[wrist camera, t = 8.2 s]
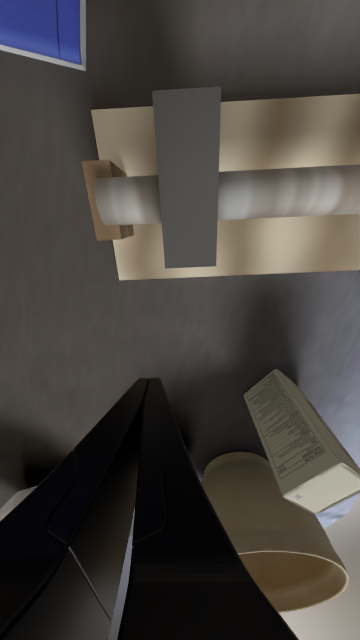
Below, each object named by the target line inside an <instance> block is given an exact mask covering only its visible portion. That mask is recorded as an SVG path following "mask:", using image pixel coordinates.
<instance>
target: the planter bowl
mask: <svg viewBox="0 0 360 640" xmlns="http://www.w3.org/2000/svg"><path fill="white" fill-rule="evenodd" d="M201 484H202V487H203V489H204V491H205V493H206V495H207V497H208V498H209V500H210V502H211V504H212V506H213V508H214V510H215V512H216V514H217V516H218V517H219V519H220V521H221V523H222V525H223V527H224V529H225V531H226V533H227V534H228V536H229V538H230V540H231V542H232V544H233V546H234V548H235V549H236V551H237V553H238V555H239V556H240V558H241V560H242V562H243V563H244V565H245V567H246V568H247V570H248V571H249V573H250V575H251V576H252V578H253V579H254V581H255V582H256V584H257V585H258V586H259V588H260V589H261V590H262V592H263V593H264V594H265V596H266V597H267V598H268V600H269V601H270V602H271V604H272V605H273V606H274V607H275V609H276V610H277V611H278V613H284V612H291V611H297V610H303V609H306V608H309V607H313V606H316V605H319V604H322V603H324V602H327V601H329V600H331V599H333V598H335V597H337V596H338V595H340V594H341V593H342V592H343V591H344V590H345V589H346V588H347V586H348V584H349V575H348V573H347V570H346V568H345V567H344V565H343V563H342V561H341V559H340V558H339V556H338V555H337V554H336V552H335V551H334V549H333V547H332V545H331V543H330V541H329V539H328V537H327V535H326V533H325V531H324V529H323V528H322V526H321V524H320V522H319V521H318V519H317V518H316V516H315V515H314V514H313V513H311V512H309V511H307V510H305V509H303V508H302V507H300V506H298V505H296V504H294V503H293V502H291V501H289V500H287V499H286V498H284V497H283V496H282V493H281V491H280V488H279V485H278V483H277V480H276V478H275V475H274V473H273V470H272V467H271V465H270V463H269V462H268V461H267V460H266V459H265V458H263V457H262V456H260V455H257V454H254V453H250V452H232V453H227V454H224V455H221V456H219V457H217V458H215V459H213V460H212V461H211V462H210V463H209V464H208V465H207V466H206V468H205V471H204V479H203V480H202V482H201Z"/></svg>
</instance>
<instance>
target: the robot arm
mask: <svg viewBox="0 0 360 640" xmlns="http://www.w3.org/2000/svg"><path fill="white" fill-rule="evenodd" d="M134 508H135V515H134V528H133V542H132V546H133V548H132V555H131V566H130V574H129V582H128V588H127V594H126V599H125V604H124V609H123V614H122V619H121V624H120V629H119V634H118V639H117V640H299V639H298V638H297V637H296V635H295V634H294V633H293V631H292V630H291V629H290V627H289V626H288V625H287V623H286V622H285V621H284V619H283V618H282V617H281V615H280V614H279V613H278V611H277V610H276V609H275V607H274V606H273V605H272V604H271V602H270V601H269V600H268V598H267V597H266V596H265V594H264V593H263V592H262V590H261V589H260V588H259V586H258V585H257V584H256V582H255V581H254V579H253V578H252V576H251V575H250V573H249V571H248V570H247V568H246V567H245V565H244V563H243V562H242V560H241V558H240V556H239V555H238V553H237V551H236V549H235V548H234V546H233V544H232V542H231V540H230V538H229V536H228V534H227V533H226V531H225V529H224V527H223V525H222V523H221V521H220V519H219V517H218V516H217V514H216V512H215V510H214V508H213V506H212V504H211V502H210V500H209V498H208V497H207V495H206V493H205V491H204V489H203V487H202V484H201V482H200V480H199V478H198V476H197V474H196V472H195V469H194V467H193V464H192V462H191V459H190V457H189V454H188V451H187V449H186V448H185V444H184V441H183V438H182V436H181V433H180V430H179V428H178V425H177V422H176V420H175V417H174V414H173V411H172V409H171V406H170V403H169V401H168V398H167V395H166V393H165V390H164V387H163V385H162V382H161V379H160V378H150V379H148V378H140V379H138V380H137V381H136V382H135V383H134V384H133V385H132V386H131V387H130V389H129V390H128V391H127V392H126V393H125V394H124V395H123V396H122V397H121V398H120V399H119V400H118V402H117V403H116V404H115V405H114V406H113V407H112V408H111V409H110V410H109V411H108V412H107V413H106V414H105V416H104V417H103V418H102V419H101V420H100V421H99V422H98V423H97V424H96V425H95V426H94V427H93V428H92V430H91V431H90V432H89V433H88V434H87V435H86V436H85V437H84V438H83V439H82V440H81V441H80V443H79V444H78V445H77V446H76V447H75V448H74V451H71V452H70V453H69V454H68V455H67V456H66V458H65V459H64V460H63V461H62V462H61V463H60V464H59V465H58V466H57V467H56V468H55V469H54V470H53V471H52V472H51V473H50V474H49V475H48V476H47V477H46V478H45V479H44V480H43V481H42V482H41V483H40V484H39V485H38V486H37V487H36V488H35V489H34V490H33V491H32V492H31V493H30V494H29V495H28V496H27V497H26V498H25V499H23V500H22V501H21V502H20V503H19V504H18V505H17V506H16V507H15V508H14V509H13V510H12V511H11V512H10V513H8V514H7V515H6V516H5V517H4V518H3V519H2V520H1V521H0V640H108V639H109V634H110V628H111V620H112V618H113V613H114V608H115V603H116V598H117V593H118V588H119V583H120V578H121V573H122V568H123V563H124V558H125V553H126V548H127V543H128V538H129V533H130V528H131V523H132V518H133V513H134Z"/></svg>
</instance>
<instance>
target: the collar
mask: <svg viewBox="0 0 360 640" xmlns="http://www.w3.org/2000/svg"><path fill="white" fill-rule="evenodd" d="M152 97H153V111H154V125H155V138H156V152H157V166H158V179H159V193H160V207H161V220H162V234H163V248H164V262H165V269H167V268H190V267H213V266H216V257H217V221H218V185H219V150H220V114H221V86H219V87H203V88H187V89H171V90H155V91H152Z"/></svg>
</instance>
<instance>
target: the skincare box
mask: <svg viewBox="0 0 360 640" xmlns="http://www.w3.org/2000/svg"><path fill="white" fill-rule="evenodd" d="M243 396H244V399H245V401H246V404H247V406H248V409H249V412H250V414H251V417H252V419H253V422H254V424H255V427H256V429H257V432H258V434H259V437H260V440H261V442H262V445H263V447H264V450H265V452H266V455H267V457H268V460H269V462H270V465H271V467H272V470H273V473H274V475H275V478H276V480H277V483H278V485H279V488H280V491H281V493H282V496H283V497H284V498H286V499H287V500H289V501H291V502H293V503H294V504H296V505H298V506H300V507H302V508H303V509H305V510H307V511H309V512H311V513H313V514H316V515H317V514H319V513H321V512H323V511H325V510H327V509H329V508H331V507H333V506H335V505H337V504H339V503H341V502H343V501H345V500H347V499H349V498H351V497H353V496H355V495H357V494H359V493H360V468H359V467H358V466H357V464H356V463H355V462H354V460H353V459H352V458H351V456H350V455H349V454H348V452H347V451H346V450H345V448H344V447H343V446H342V444H341V443H340V442H339V440H338V439H337V438H336V436H335V435H334V434H333V432H332V431H331V430H330V428H329V427H328V426H327V424H326V423H325V422H324V420H323V419H322V418H321V416H320V415H319V414H318V412H317V411H316V410H315V408H314V407H313V406H312V404H311V403H310V402H309V400H308V399H307V398H306V396H305V395H304V394H303V392H302V391H301V390H300V388H299V387H298V386H297V385H296V384H295V383H294V382H292V381H291V380H290V379H289V378H288V377H287V376H285V375H284V374H283V373H282V372H281V371H279V370H278V369H274V370H273V371H272V372H271V373H269V374H268V375H267V376H265V377H264V378H263V379H262V380H260V381H259V382H258V383H257V384H256V385H254V386H253V387H252V388H251V389H250V390H249V391H247V392H246V393H245V394H244V395H243Z"/></svg>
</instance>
